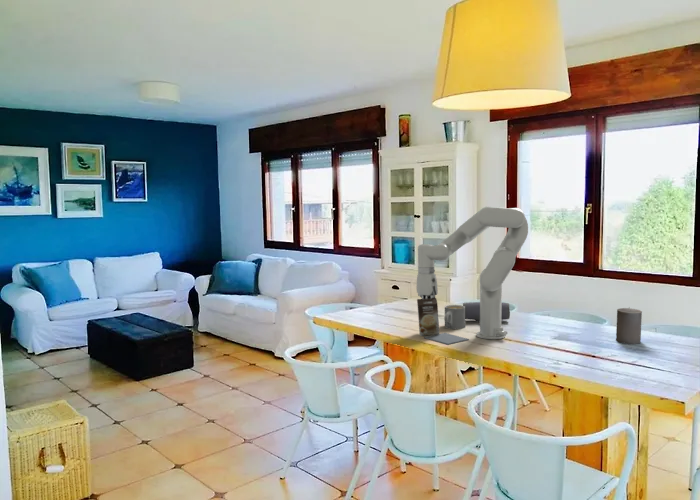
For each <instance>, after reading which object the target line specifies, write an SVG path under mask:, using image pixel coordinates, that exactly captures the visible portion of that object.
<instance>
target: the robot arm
mask: <svg viewBox="0 0 700 500" xmlns="http://www.w3.org/2000/svg"><path fill="white" fill-rule="evenodd" d="M490 227H491V228H504V229H505V228H508V229H507V233H506V234H505V236H504V238H503V239H502V241H501V242H500V244H499V246H498V247H497V249H496V250H494V252H493V255H492V257H491V259H490V260H489V262H488V264H487V265H486V267H485V268H484V269H483V270H482V271H481V272H480V275H479V302H480V322H479V331H477V332H476V334H475V335H476V338H477V337H478V338H480V339H485V340H500V339H503V338H505V337H506V336H507V335H508V331H507V330H504V327H503V326H502V320H501V303H503V301H502V300H503V299H502V296H503V295H502V294H503V293H502V292H503V291H502V289H503V288H502V287H503V283H504V282H505V280H506V279H507V277H508V276H509V274H510V272H511V271H512V269H513V267H514V266H515V263H516V257H517V255H518V254H519V252H520V251H521V249H522V247H523V245H524V243H525V242H526V241H527V237H528V234H529V223H528V220H527V218H526V216H525V212H524V211H522V210H521V209H520V208H517V207H509V208H507V207H492V206H485V207H481V209H479V210H478V211H477V212H476V213H475V214H473V215H472V216H470V218H469V219H467V220H466V221H464V222H463V223H462V224H461V225H460V226H458V227H457V229H456V230H455V231H454V232H453V233H451V234H450V235H449V236H448V237H446V238H445V239H444V240H443V241H442V242H440V243H439V244H437V245H434V244H430V243H429V244H428V243H427V244H426V243H425V244H424V243H423V244H419V245H418V247H417V277H416V293H417V295H418V297H420V299H429V298H432V299H433V298H436V295H438V294H439V293H438V279H437V275H436V273H435V271H436V270H435V261H440V262H442V261H446V260H448V259H449V258H450V257H451V256H452V255H454V253H456V252H457V251H458V250H460V249H461V248H462V247H463V246H465V245H466V244H468V243H470V242H472V241H474V240H475V239H476V238H477V237H478V236H479V235H481V234H482V233H483V232H485V231H486V230H488V229H489V228H490Z"/></svg>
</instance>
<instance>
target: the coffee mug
mask: <svg viewBox="0 0 700 500" xmlns="http://www.w3.org/2000/svg"><path fill="white" fill-rule="evenodd" d="M443 319H444V328H446V329H449V328H450V330H462V329H465V328H466V319H465V306H463V305H459V304H448V305H445V306H444V318H443Z"/></svg>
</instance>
